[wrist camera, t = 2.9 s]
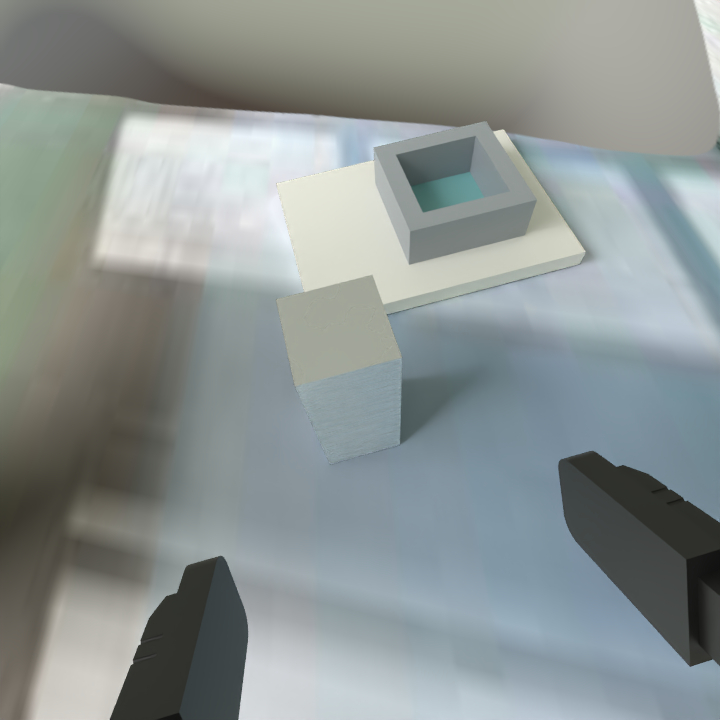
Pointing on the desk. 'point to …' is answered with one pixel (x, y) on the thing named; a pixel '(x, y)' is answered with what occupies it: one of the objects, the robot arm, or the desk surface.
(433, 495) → the desk surface
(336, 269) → the docking board
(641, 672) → the desk surface
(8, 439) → the desk surface
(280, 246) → the desk surface
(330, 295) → the grainy grey brick
